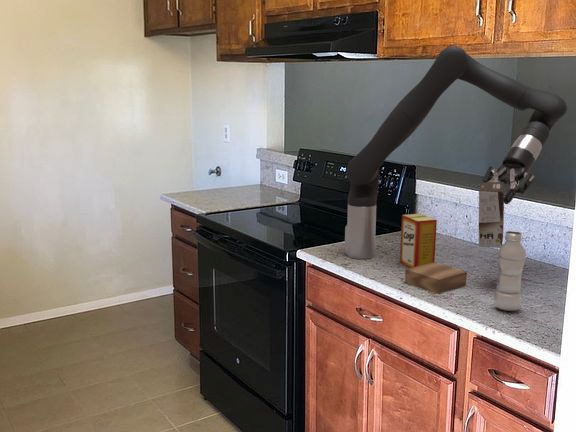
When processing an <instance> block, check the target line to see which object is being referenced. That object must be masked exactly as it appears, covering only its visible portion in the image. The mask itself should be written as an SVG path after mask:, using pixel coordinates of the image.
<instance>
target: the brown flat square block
mask: <svg viewBox="0 0 576 432" xmlns="http://www.w3.org/2000/svg"><path fill="white" fill-rule="evenodd" d="M404 272H405V275H404V276H405V277H404V278H405V279H404V283H405V284H409V285H411V286H414V287H417V288H419V289H422V290H425V291H428V292H431V293H434V294H437V295H440V294H443V293H447V292H449V291H452V290H455V289H459V288H463V287H465V286H467V278H468V276H467V275H468V274H467V273H468V272H467V271H465V270H461V269H458V268H455V267H451V266H448V265H445V264H441V263H437V262H436V261H434V262H432V263H428V264H424V265H420V266H416V267H412V268H408V267H407V268H405V271H404Z"/></svg>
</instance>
